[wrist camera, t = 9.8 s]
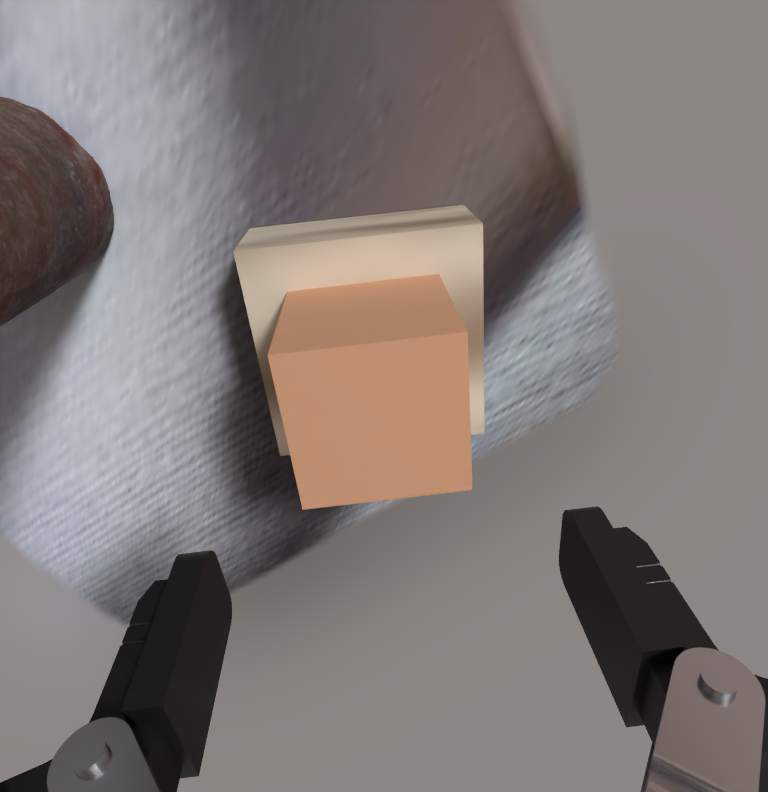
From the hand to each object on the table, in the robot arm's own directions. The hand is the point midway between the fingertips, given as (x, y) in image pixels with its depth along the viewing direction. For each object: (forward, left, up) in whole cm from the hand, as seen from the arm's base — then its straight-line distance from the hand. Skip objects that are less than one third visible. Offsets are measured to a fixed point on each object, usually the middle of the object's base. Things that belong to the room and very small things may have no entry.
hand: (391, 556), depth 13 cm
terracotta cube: (0, 0, -12) cm, 12 cm away
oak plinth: (0, 0, -16) cm, 16 cm away
